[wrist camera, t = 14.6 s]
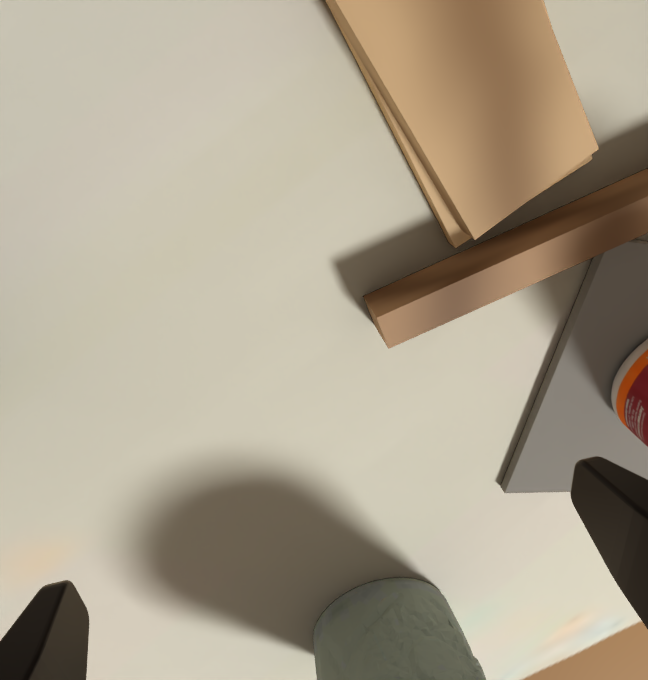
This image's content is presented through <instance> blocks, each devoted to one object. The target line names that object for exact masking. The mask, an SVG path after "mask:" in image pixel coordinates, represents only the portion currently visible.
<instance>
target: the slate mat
mask: <svg viewBox="0 0 648 680" xmlns="http://www.w3.org/2000/svg"><path fill="white" fill-rule="evenodd" d="M647 339H648V241H641V240H631V241H628V242H626V243H624V244H622V245H619V246H617V247H615V248H613V249H611V250H608V251H606V252H604V253H602V254H599V255H597V256H595V257H593V259H592V262H591V264H590V267H589V269H588V272H587V274H586V277H585V279H584V282H583V284H582V287H581V289H580V291H579V294H578V296H577V299H576V301H575V304H574V306H573V309H572V311H571V314H570V316H569V319H568V321H567V323H566V326H565V328H564V331H563V333H562V336H561V338H560V341H559V343H558V346H557V348H556V351H555V353H554V356H553V358H552V360H551V363H550V365H549V368H548V370H547V373H546V375H545V378H544V380H543V383H542V385H541V388H540V390H539V393H538V395H537V397H536V400H535V402H534V405H533V407H532V410H531V412H530V415H529V417H528V420H527V422H526V425H525V427H524V430H523V432H522V434H521V437H520V439H519V442H518V444H517V447H516V449H515V452H514V454H513V457H512V459H511V462H510V464H509V466H508V469H507V471H506V474H505V476H504V479H503V481H502V484H501V486H500V487H501V488H502V490H503V491H504V493H533V492H571V485H572V479H573V473H574V467H575V464H576V463H577V461H579V460H581V459H585V458H590V457H594V456H599V457H603V458H605V459H607V460H609V461H611V462H613V463H615V464H617V465H619V466H621V467H623V468H625V469H627V470H629V471H631V472H633V473H635V474H637V475H639V476H641V477H643V478H645V479H647V480H648V447H647V446H646V445H645V444H644V443H643V442H642V441H641V440H640V439H639V438H637V437H636V436H635V435H634V434H633V433H632V432H631V431H630V430H629V429H628V428H627V427H626V426H625V425H624V424H623V423H622V422H621V421H620V420H619V418H618V417H617V415H616V414H615V412H614V409H613V406H612V400H611V392H612V385H613V381H614V378H615V376H616V374H617V372H618V370H619V368H620V367H621V365H622V364H623V362H624V361H625V360H626V359H627V357H628V356H629V355H630V354H631V353H632V352H633V351H634V350H635V349H636V348H637V347H638V346H639V345H640V344H642V343H643V342H644V341H646V340H647Z"/></svg>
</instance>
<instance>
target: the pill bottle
mask: <svg viewBox="0 0 648 680" xmlns="http://www.w3.org/2000/svg"><path fill="white" fill-rule="evenodd" d="M611 400H612V406H613V409H614V412H615V414H616V415H617V417H618V418H619V420H620V421H621V422H622V423H623V424H624V425H625V426H626V427H627V428H628V429H629V430H630V431H631V432H632V433H633V434H634V435H635V436H636V437H637V438H639V439H640V440H641V441H642V442H643V443H644V444H645V445H646V446H647V447H648V339H647V340H646V341H644V342H643V343H642V344H640V345H639V346H638V347H637V348H636V349H635V350H634V351H633V352H632V353H631V354H630V355H629V356H628V357H627V359H626V360H625V361H624V362H623V364H622V365H621V367H620V368H619V370H618V372H617V374H616V376H615V378H614V381H613V385H612V392H611Z"/></svg>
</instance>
